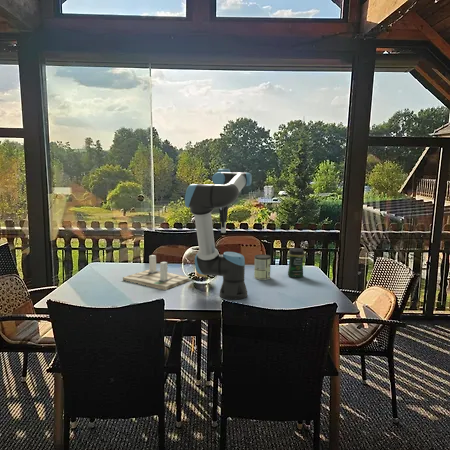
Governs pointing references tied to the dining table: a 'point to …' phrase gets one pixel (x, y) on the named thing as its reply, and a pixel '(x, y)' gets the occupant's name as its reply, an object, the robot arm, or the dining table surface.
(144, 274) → the striped wooden board
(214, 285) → the dining table surface
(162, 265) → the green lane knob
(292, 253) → the coffee jar
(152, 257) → the grey lane knob
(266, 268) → the coffee can
